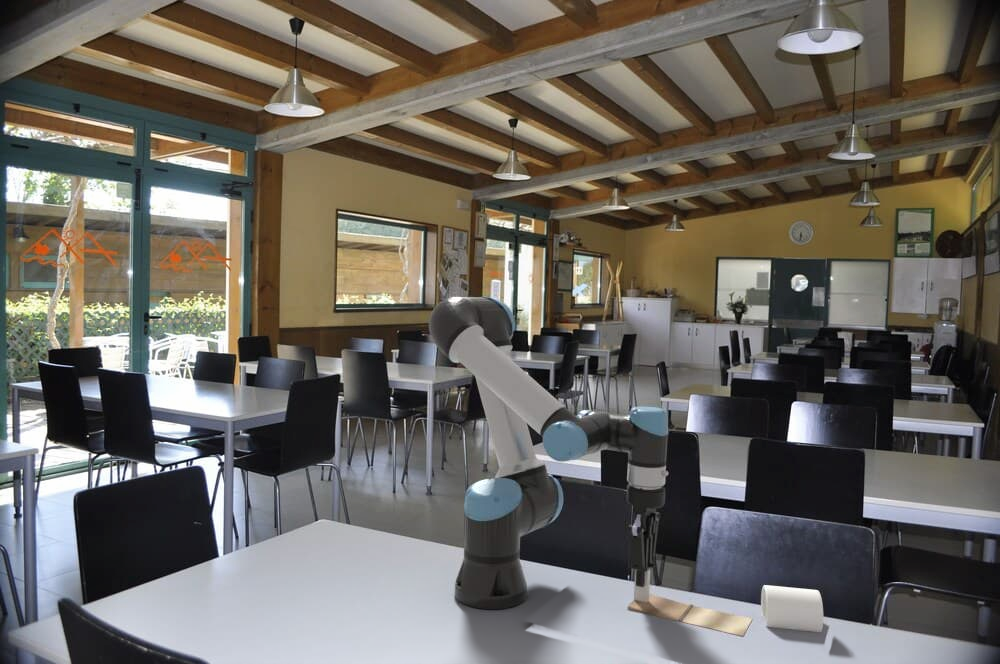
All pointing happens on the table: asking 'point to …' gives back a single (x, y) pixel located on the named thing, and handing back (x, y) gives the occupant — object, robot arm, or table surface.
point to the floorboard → (715, 620)
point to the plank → (660, 607)
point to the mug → (792, 608)
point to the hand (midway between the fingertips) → (641, 599)
